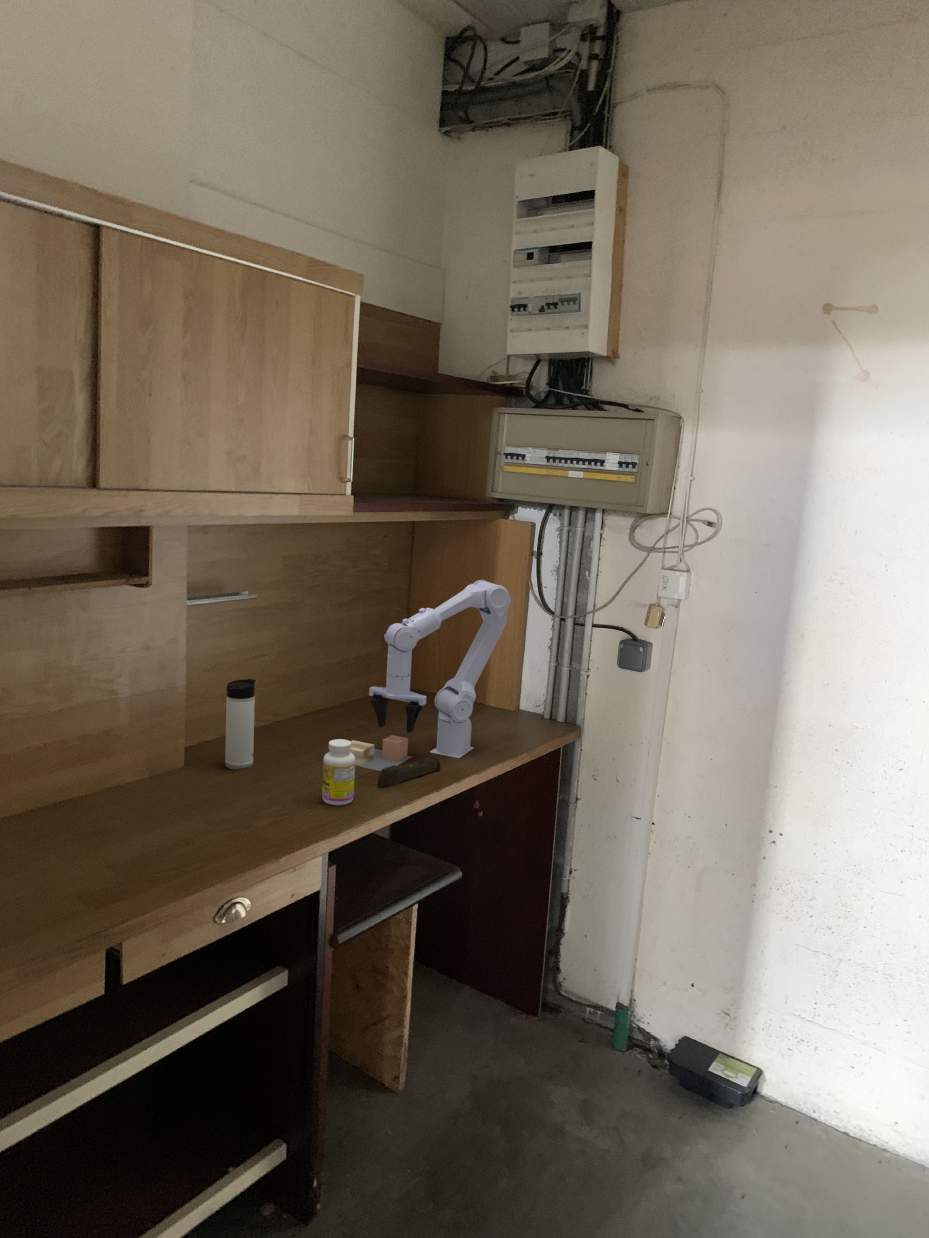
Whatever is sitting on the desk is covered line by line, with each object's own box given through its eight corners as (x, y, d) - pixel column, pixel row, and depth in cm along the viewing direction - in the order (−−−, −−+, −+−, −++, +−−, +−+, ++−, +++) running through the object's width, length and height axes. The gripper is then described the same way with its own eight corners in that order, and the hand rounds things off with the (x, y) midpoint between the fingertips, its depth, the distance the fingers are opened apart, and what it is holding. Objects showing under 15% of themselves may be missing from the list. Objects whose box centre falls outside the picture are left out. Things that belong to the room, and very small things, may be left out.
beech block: (352, 753, 221) (352, 740, 221) (373, 758, 219) (374, 744, 219) (339, 760, 216) (339, 746, 215) (361, 765, 214) (361, 751, 213)
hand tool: (428, 769, 217) (429, 750, 216) (440, 773, 214) (441, 754, 213) (369, 787, 203) (369, 767, 202) (381, 792, 200) (382, 772, 199)
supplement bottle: (320, 795, 196) (322, 737, 193) (351, 793, 197) (353, 737, 195) (323, 807, 189) (325, 747, 187) (355, 805, 191) (358, 747, 189)
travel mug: (260, 765, 211) (261, 681, 208) (236, 772, 206) (238, 686, 202) (243, 758, 215) (244, 676, 211) (219, 764, 210) (220, 680, 206)
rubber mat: (362, 748, 228) (362, 746, 228) (412, 758, 222) (412, 756, 222) (334, 762, 216) (334, 760, 216) (386, 774, 211) (386, 772, 211)
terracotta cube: (390, 752, 224) (391, 734, 223) (407, 755, 223) (408, 738, 222) (381, 757, 220) (382, 739, 219) (398, 761, 218) (399, 743, 218)
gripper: (363, 672, 217) (361, 727, 219) (418, 682, 211) (415, 738, 214) (378, 667, 223) (375, 720, 226) (431, 676, 218) (428, 731, 220)
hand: (395, 728), depth 220 cm, fingers open, 7 cm apart
